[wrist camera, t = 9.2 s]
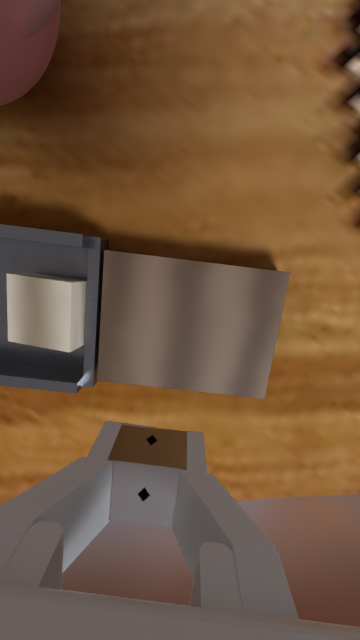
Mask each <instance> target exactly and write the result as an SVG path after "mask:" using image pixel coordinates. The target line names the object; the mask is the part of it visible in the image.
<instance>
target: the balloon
mask: <svg viewBox="0 0 360 640" xmlns="http://www.w3.org/2000/svg"><path fill="white" fill-rule="evenodd" d="M60 19H61V0H0V106H3V105H6V104H8V103H11V102H13V101H15V100H17V99H18V98H20V97H22V96H23V95H24V94H26V93H27V92H28V91H29V90H30V89H31V88H33V86H34V85H35V84H36V83H37V82H38V81H39V79H40V78H41V77H42V75H43V74H44V72H45V70H46V69H47V67H48V65H49V63H50V60H51V58H52V55H53V52H54V49H55V46H56V42H57V38H58V33H59V27H60Z"/></svg>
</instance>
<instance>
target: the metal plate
mask: <svg viewBox="0 0 360 640" xmlns="http://www.w3.org/2000/svg"><path fill="white" fill-rule="evenodd" d="M289 276H290V272H282V271H274V270H265V269H257V268H249V267H241V266H233V265H224V264H216V263H208V262H200V261H192V260H183V259H175V258H167V257H159V256H150V255H142V254H134V253H126V252H118V251H109V250H104V265H103V283H102V301H101V319H100V337H99V356H98V374H97V380H98V381H107V382H116V383H125V384H134V385H143V386H152V387H162V388H171V389H180V390H189V391H198V392H207V393H216V394H225V395H234V396H243V397H253V398H262V399H264V397H265V393H266V388H267V383H268V378H269V373H270V368H271V363H272V358H273V354H274V349H275V344H276V339H277V334H278V329H279V324H280V319H281V315H282V310H283V305H284V300H285V295H286V290H287V285H288V280H289Z"/></svg>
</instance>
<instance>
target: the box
mask: <svg viewBox="0 0 360 640" xmlns="http://www.w3.org/2000/svg"><path fill="white" fill-rule="evenodd" d="M108 241H109V240H108V239H104V238H101V237H93V236H87V235H84V234H77V233H69V232H61V231H52V230H44V229H36V228H28V227H20V226H12V225H4V224H0V385H3V386H12V387H22V388H31V389H40V390H49V391H58V392H68V393H78V391H79V390H80V389H81V387H82V386H88V387H93V386H94V385H95V384H96V382H97V381H98V380H97V374H98V356H99V337H100V319H101V301H102V283H103V265H104V250H108ZM6 273H38V274H45V275H52V276H59V277H67V278H74V279H81V280H87V297H86V320H85V344H84V345H83V346H81V347H79V348H77V349H75V350H74V351H72V352H70V353H69V352H64V351H58V350H53V349H48V348H42V347H37V346H31V345H26V344H20V343H15V342H10V341H8V321H7V276H6Z"/></svg>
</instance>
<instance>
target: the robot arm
mask: <svg viewBox="0 0 360 640" xmlns="http://www.w3.org/2000/svg"><path fill="white" fill-rule="evenodd" d="M109 520H115V521H126V522H137V523H144V524H151V525H157V526H164V527H170V528H172V531H173V533H174V535H175V538H176V540H177V542H178V544H179V547H180V549H181V551H182V553H183V556H184V558H185V560H186V562H187V565H188V567H189V569H190V571H191V574H192V576H193V578H194V582H193V588H192V593H191V598H190V604H189V606H186V605H179V604H170V603H163V602H154V601H146V600H139V599H131V598H123V597H115V596H107V595H99V594H92V593H84V592H76V591H68V590H62V573H63V572H64V571H65V570H66V569H67V567H68V566H69V565H70V564H71V563H72V562H73V561H74V559H76V557H77V556H78V555H79V554H80V553H81V552H82V551H83V550H84V549H85V547H86V546H87V545H88V544H89V543H90V542H91V541H92V540H93V539H94V538H95V537H96V535H97V534H98V533H99V532H100V531H101V530H102V529H103V528H104V527H105V525H106V524H107V523H108V522H109ZM0 640H360V627H354V626H346V625H339V624H331V623H322V622H315V621H307V620H299V618H298V615H297V612H296V609H295V605H294V602H293V599H292V596H291V592H290V589H289V586H288V583H287V580H286V577H285V573H284V570H283V567H282V564H281V560H280V557H279V554H278V551H277V548H276V547H275V546H274V545H273V544H272V543H271V541H270V540H269V539H268V538H267V537H266V536H265V535H264V533H263V532H262V531H261V530H260V529H259V528H258V526H257V525H256V524H255V523H254V522H253V521H252V519H251V518H250V517H249V516H248V515H247V513H246V512H245V511H244V510H243V509H242V508H241V506H240V505H239V504H238V503H237V502H236V501H235V499H234V498H233V497H232V496H231V495H230V494H229V492H228V491H227V490H226V489H225V488H224V487H223V485H222V484H221V483H220V482H219V481H218V480H217V478H216V477H215V476H214V475H213V474H212V473H207V467H206V456H205V446H204V435H203V433H202V432H192V431H178V430H169V429H160V428H155V427H148V426H141V425H135V424H128V423H121V422H113V421H107V422H105V423H104V425H103V427H102V429H101V431H100V433H99V435H98V437H97V439H96V441H95V443H94V445H93V447H92V449H91V451H90V453H89V455H88V456H87V458H86V457H81V458H79V459H78V460H76V461H74V462H73V463H71V464H69V465H68V466H66V467H64V468H63V469H61V470H59V471H58V472H56V473H55V474H53V475H51V476H50V477H48V478H46V479H45V480H43V481H41V482H40V483H38V484H36V485H35V486H33V487H31V488H30V489H28V490H26V491H25V492H23V493H21V494H20V495H18V496H16V497H15V498H13V499H11V500H10V501H8V502H6V503H5V504H3V505H1V506H0Z"/></svg>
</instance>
